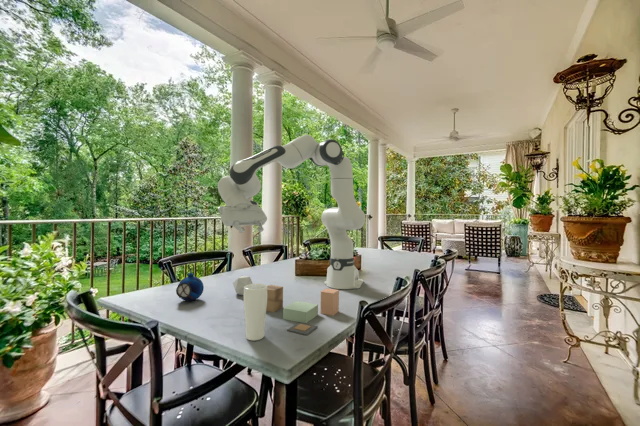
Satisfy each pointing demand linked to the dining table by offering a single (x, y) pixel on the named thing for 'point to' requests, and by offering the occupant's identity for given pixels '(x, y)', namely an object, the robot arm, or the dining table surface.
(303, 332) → the card
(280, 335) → the dining table surface
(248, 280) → the die
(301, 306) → the sage base block
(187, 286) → the bomb
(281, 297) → the walnut block
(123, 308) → the dining table surface
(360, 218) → the robot arm
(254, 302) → the drinking glass
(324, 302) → the terracotta block
